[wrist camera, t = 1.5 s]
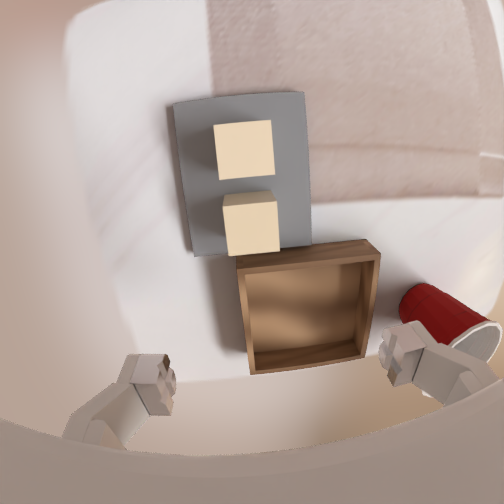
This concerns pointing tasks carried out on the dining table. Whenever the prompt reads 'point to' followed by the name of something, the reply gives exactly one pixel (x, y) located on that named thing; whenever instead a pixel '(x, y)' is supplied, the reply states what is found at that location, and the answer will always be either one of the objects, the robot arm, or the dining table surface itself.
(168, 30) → the dining table surface
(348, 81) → the dining table surface
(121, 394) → the robot arm
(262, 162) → the cream wooden cube
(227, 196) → the beige block
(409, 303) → the plastic cup
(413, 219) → the dining table surface
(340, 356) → the walnut bin
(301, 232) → the slate board
